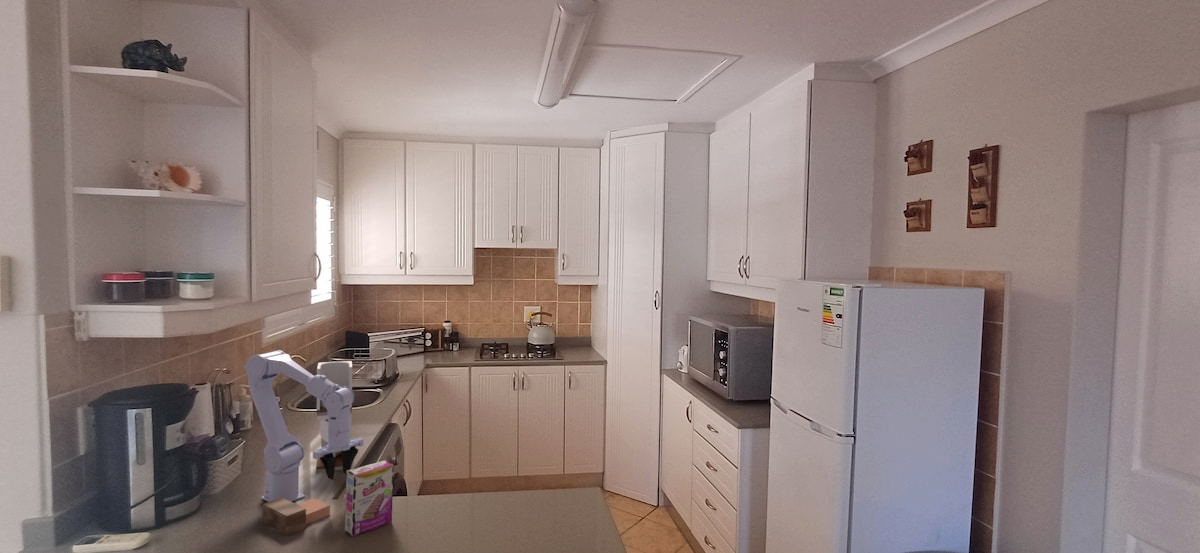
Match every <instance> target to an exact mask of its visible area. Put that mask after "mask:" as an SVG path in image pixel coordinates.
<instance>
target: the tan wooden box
mask: <svg viewBox="0 0 1200 553" xmlns="http://www.w3.org/2000/svg"><path fill="white" fill-rule="evenodd" d="M262 523H263V524H265V525H266V526H267V527H269V528H272V529H273V530H275V531H277V532H278V533H281V534H283V535H284V536H286V537H287V536H290V535H292V534H294V533H298V532H300V531H301V530H305V529H307V528H306V527H307V524H306V509H305V508H303V507H301V506H299V505H297V503H295V502H294V501H292V502H291V501H288V500H286V499H284V498H279V499H276V500H273V501H270V502H268V501H266V502H265V503H262Z"/></svg>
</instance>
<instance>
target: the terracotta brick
mask: <svg viewBox="0 0 1200 553" xmlns="http://www.w3.org/2000/svg"><path fill="white" fill-rule="evenodd" d="M296 504H297V503H296ZM297 505H299V506H301V507H303V508H305V509H306V525H308V524H311V523H313V522H316V521H318V520H320V519H323V518H326V517H327V516H330V515H331V504H328V503H326V502H323V501H321V500H318V499H316V498H311V499H308V500H305V501H302V502H300V503H298V504H297Z"/></svg>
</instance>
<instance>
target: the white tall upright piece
mask: <svg viewBox="0 0 1200 553" xmlns="http://www.w3.org/2000/svg"><path fill="white" fill-rule="evenodd" d="M316 368H317V369H316V375H325V376H326V379H328V380H329V381H331V382H333V383H334V384H338V385H339V386H340V387H345V386H346V387H349V388H350V389H351V390H352V391H353V362H352V360H346V361H345V360H344V361H342V360H341V361H328V362H327V361H325V362H324V361H323V362H322V361H321V362H318V363H317V367H316ZM352 405H353V403H352V404H351V405H349V406H350V440H352V427H353V426H352V424H353V423H352V421H353V420H352V418H353V417H352V414H353V411H352V410H353V406H352ZM347 407H348V406H347ZM316 421H319V435H320V437H321V439H320V440H321V442H320V443H321V444H320V445H321V447H320V448H323V447H325V446H327V445H328V411H327V409H326V407H325V405H324V402H323V401H321V400H320V399H318V398H317V397H316ZM332 455H334V457H336V458H337V459H336V463H335V471H336V472H337V471H343V458H342V452H341V451H340V452H337V453H333V454H332ZM318 473H319V474H320V473H326V470H325V467H324V465H323V463H322V461H321V460H320V459H316V465H315V474H318Z"/></svg>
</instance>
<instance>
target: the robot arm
mask: <svg viewBox="0 0 1200 553" xmlns="http://www.w3.org/2000/svg"><path fill="white" fill-rule="evenodd" d="M244 370H245V373H246V376H247V386H248V389H249V393H250V395H251V398H252V401H253V403H254V406H255V409H256V412H257V415H258V417H259V419H260V422H261V425H262V428H263V430H264V433H265V437H266V439H267V443H266V446H265V447H264V449H263V451H262V452H263V456H264V466H265V468H266V470H267V471H266V473H265V476H264V495H262V496H261V499H262V500H264V501H266V502H270V501H273V500H276V499H279V498H284V499H286V500H288V501H291V502H294V501H297V500H300V499H304V498H305V495H304V494H303V493H301V492H299V484H300V483H299V476H300V475H299V474H300V471H299V469H300V468H299V467H300V466H301V462H302V460H303V459H304V458H305V453H306V452H305V448H304V447H303V445H302V444H301V443H300V441H299V440H298V437H297V436H295V435H293V434H291V433H289V431H288V427H287V425H286V423H285V422H286V421H285V420H284V417H283V414H282V411H281V408H280V405H279V403H278V400H277V397H276V395H275V392H274V389H273V386H272V384H273V382H274V380H275V379H276V378H277V376H278V375H280V374H282V375H285V376H286V377H289V378H291V379H292V380H294V381H296V382H298V383H300V384H302V385H304V387H305V390H306V392H307V393H309V394H310V395H312V396H314V397H315V398H316V399H317V398H318V399H320V400H321V401H323V402H324V405H325V407H326V409H327V411H328V445H327V446H325V447H323V448H321V447H320V448H318V449H315V450H313V451H312V459H315V460H317V459H320V460H321V461H322V463H323V465H324V467H325V470H326V472H325V473H326V476H327V477H326V478H327V479H328V480H331V481H333V480H335V463H336V459H337V458H336V457H334V455H332V454H333V453H337V452H340V451H341V452H342V458H343V470H342V473H344V474H345V475H346V473H347V471H348V470H351V469H352V465H353V463H354V461H355V458H356V456H357V454H359V448H356V447H362V446H364V438H361V437H357V438H353V439H352V438H351V440H350V406H349V405H351V404H352V405H353V403H354V401H355V392H354V391H353V389H352V390H351V389H350V388H349V387H346V386H345V387H340V386H339V385H338V384H334V383H333V382H331V381H329V380H328V379H326V376H325V375H317V374H315V375H313V374H312V373H311V372H310V371H308V370H307V369H306V368H304V367H303V366H301V365H300V364H298V363H297V362H296V361H294V360H293V359H292V358H291V356H290V355H289V354H288V353H286V352H284V351H283V350H279V349H278V350H277V349H276V350H273V351H269V352H266V353H264V352H263V353H261V354H260V353H259V354H254V355H251V356H250V357H249V358H248V360H247V362H246V363H245V365H244ZM347 406H348V407H347Z"/></svg>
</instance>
